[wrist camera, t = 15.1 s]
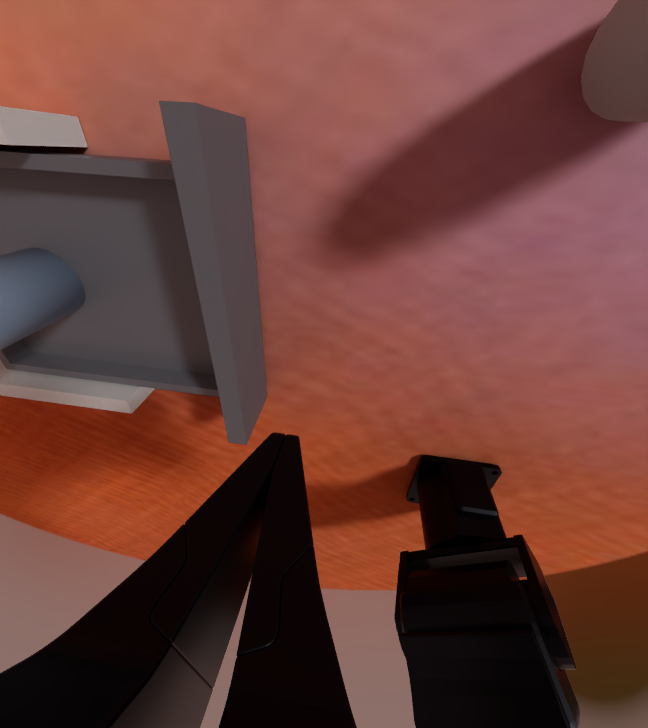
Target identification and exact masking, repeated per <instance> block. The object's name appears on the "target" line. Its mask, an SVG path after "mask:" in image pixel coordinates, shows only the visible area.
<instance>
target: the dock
mask: <svg viewBox="0 0 648 728" xmlns="http://www.w3.org/2000/svg"><path fill="white" fill-rule="evenodd" d="M0 144H2V145H26V146H60V147H88V146H87V143H86V140H85V137H84V134H83V131H82V128H81V125H80V122H79V119H78V117H76V116H69V115H61V114H54V113H46V112H39V111H31V110H23V109H16V108H8V107H1V106H0ZM154 389H155V388H147V387H139V386H132V385H124V384H117V383H109V382H101V381H94V380H86V379H78V378H71V377H63V376H56V375H48V374H40V373H33V372H25V371H17V370H10V369H7V368H6V367H5V366H4V364H3V363H2V361H1V360H0V395H1V396H8V397H16V398H23V399H30V400H37V401H45V402H52V403H59V404H66V405H73V406H81V407H88V408H95V409H102V410H109V411H117V412H124V413H131V414H132V413H133V412H134V411H135V410H136V409H137V408H138V407H139V405H140V404H141V403H142V402H143V401H144V400H145V399H146V398H147V397H148V396H149V395H150V394H151V393H152V391H153V390H154Z"/></svg>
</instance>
